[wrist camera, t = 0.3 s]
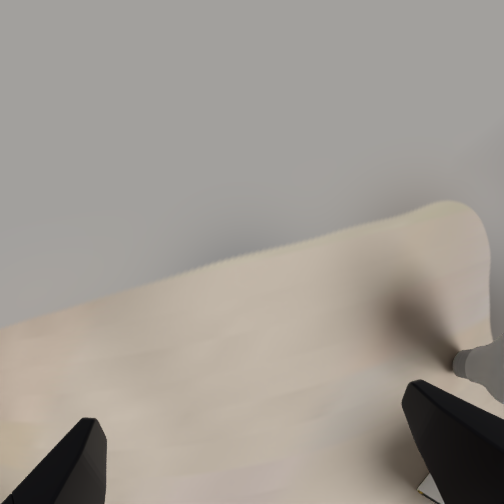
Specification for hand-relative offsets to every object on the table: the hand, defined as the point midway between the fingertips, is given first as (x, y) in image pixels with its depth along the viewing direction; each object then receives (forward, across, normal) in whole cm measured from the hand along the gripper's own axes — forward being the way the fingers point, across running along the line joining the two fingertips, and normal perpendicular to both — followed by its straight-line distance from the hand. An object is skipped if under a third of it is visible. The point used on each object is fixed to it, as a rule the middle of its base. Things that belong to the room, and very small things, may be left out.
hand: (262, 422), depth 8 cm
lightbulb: (+11, -20, +11) cm, 25 cm away
